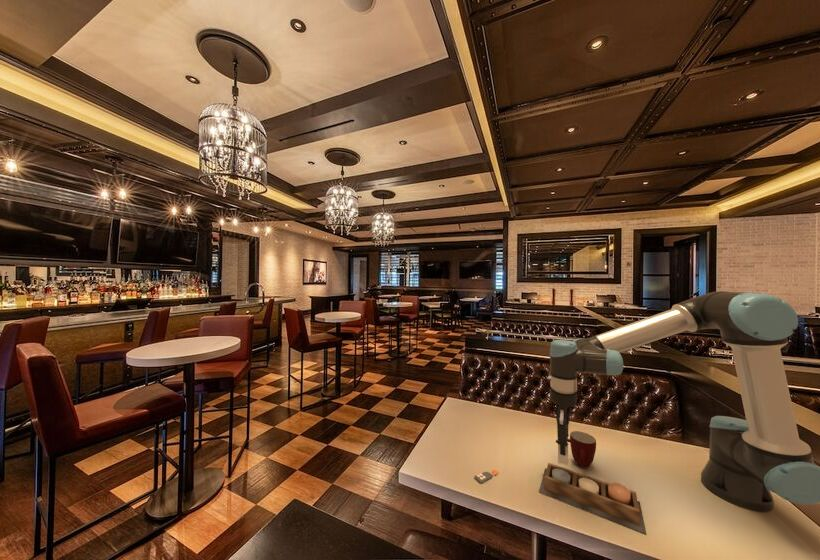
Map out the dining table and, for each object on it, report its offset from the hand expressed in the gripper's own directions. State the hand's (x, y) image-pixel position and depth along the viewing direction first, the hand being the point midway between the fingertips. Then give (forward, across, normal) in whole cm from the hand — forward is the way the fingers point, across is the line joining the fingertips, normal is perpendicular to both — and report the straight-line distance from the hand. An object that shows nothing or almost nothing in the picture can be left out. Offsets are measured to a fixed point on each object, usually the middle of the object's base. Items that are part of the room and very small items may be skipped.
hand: (563, 462), depth 91 cm
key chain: (+8, +7, -21) cm, 24 cm away
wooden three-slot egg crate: (+8, 0, +7) cm, 11 cm away
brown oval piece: (+6, 0, +14) cm, 16 cm away
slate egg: (+7, 0, -1) cm, 7 cm away
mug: (+8, -16, +5) cm, 18 cm away
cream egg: (+7, 0, +7) cm, 10 cm away
